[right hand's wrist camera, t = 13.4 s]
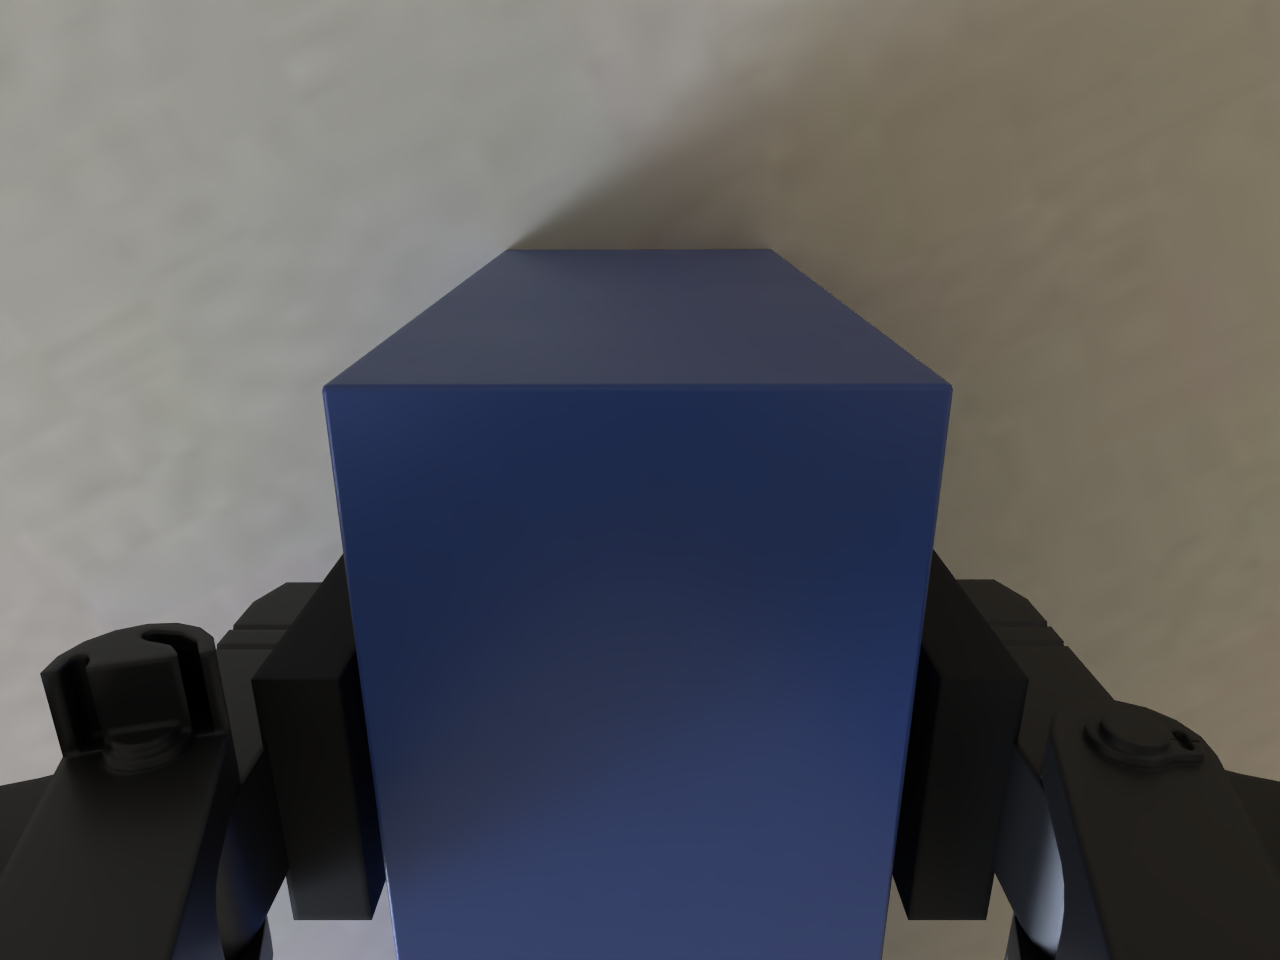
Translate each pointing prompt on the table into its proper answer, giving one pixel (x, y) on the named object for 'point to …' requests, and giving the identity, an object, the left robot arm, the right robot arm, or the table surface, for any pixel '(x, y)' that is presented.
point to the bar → (638, 607)
